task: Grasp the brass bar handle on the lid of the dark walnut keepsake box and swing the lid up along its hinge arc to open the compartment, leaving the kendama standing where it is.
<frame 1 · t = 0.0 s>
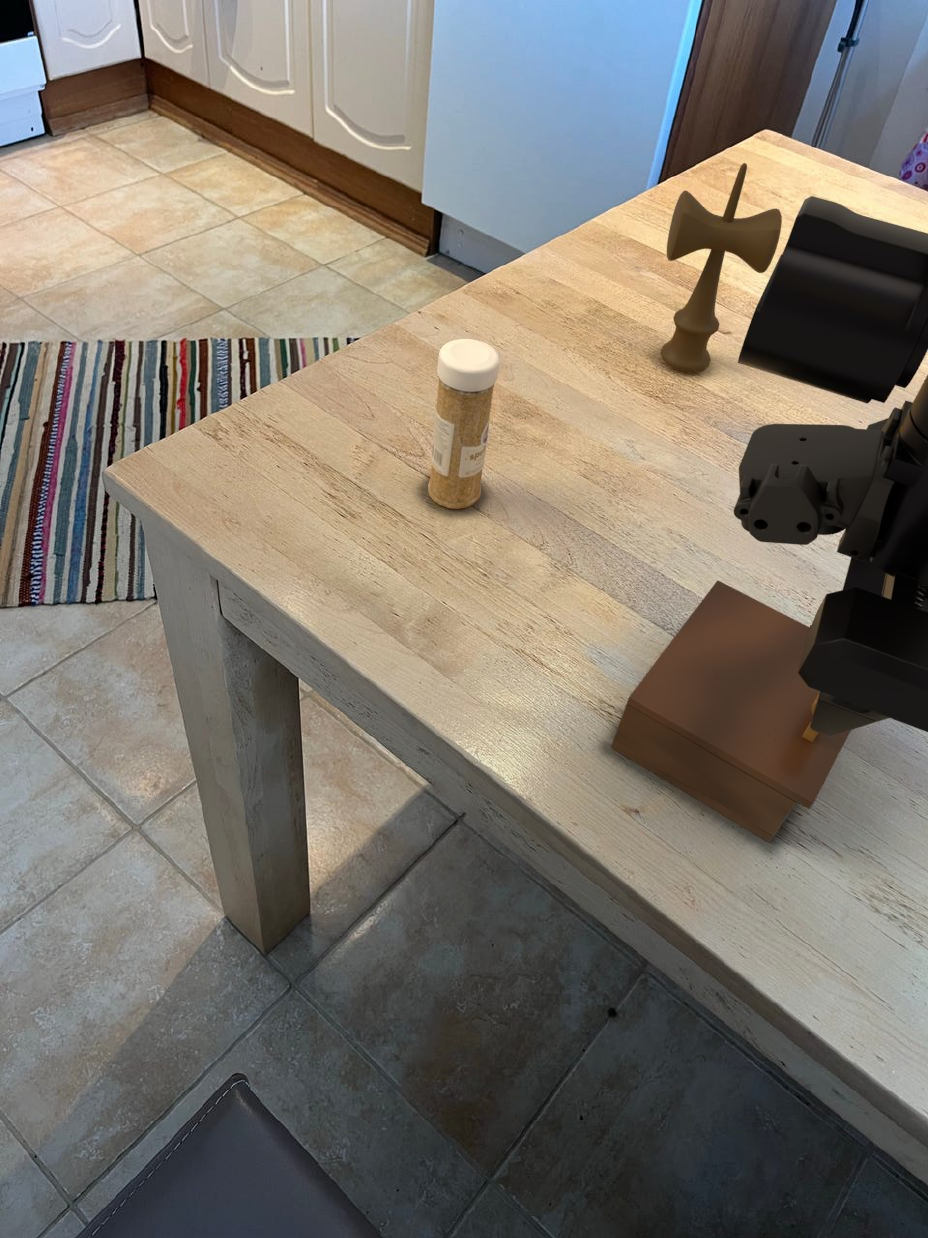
hand: (834, 668, 51), 14 cm above the table, tool pointing down, fingers open, 9 cm apart
lid: (768, 665, 60), point 7 cm above the table, hinge at 0.0°
spice jar: (453, 494, 80), on the table
keepsake box: (729, 727, 66), on the table
kendama: (683, 364, 97), on the table
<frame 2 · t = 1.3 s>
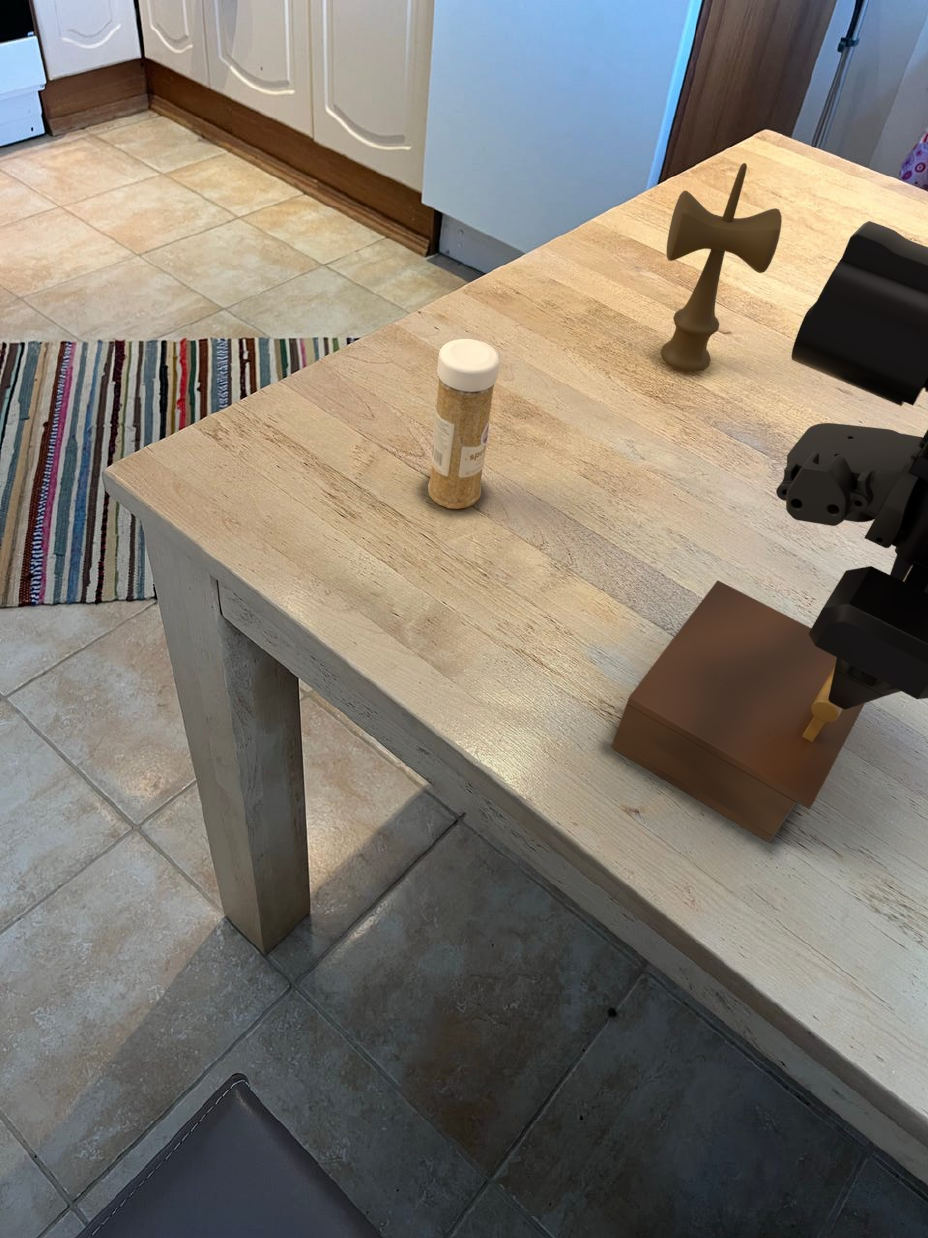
hand: (863, 655, 56), 12 cm above the table, tool pointing down, fingers open, 9 cm apart
nothing on the table moved.
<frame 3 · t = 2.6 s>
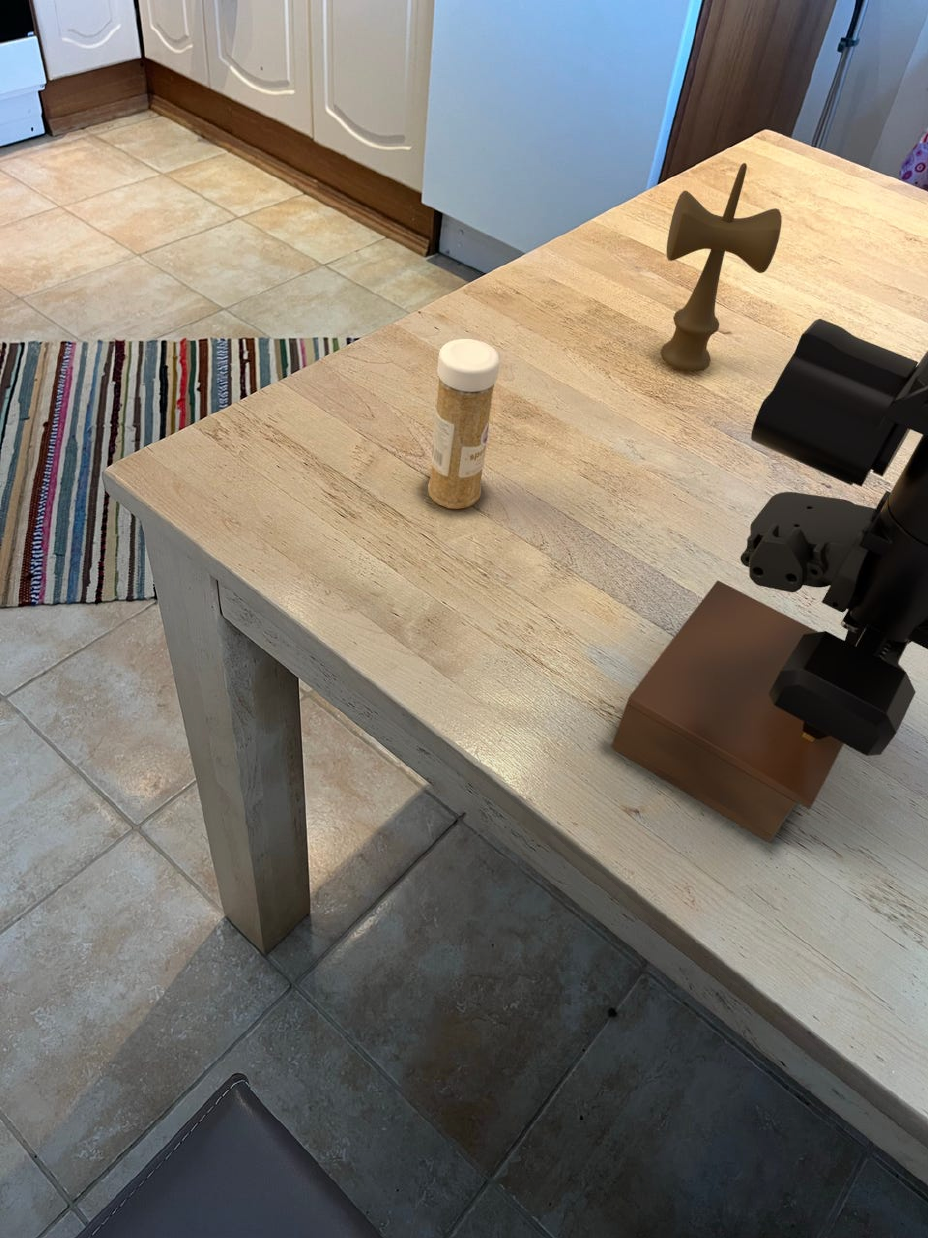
hand: (827, 704, 59), 7 cm above the table, tool pointing down, fingers closed on lid, 5 cm apart
lid: (768, 665, 60), point 7 cm above the table, hinge at 0.0°, touching gripper
everything else where it was.
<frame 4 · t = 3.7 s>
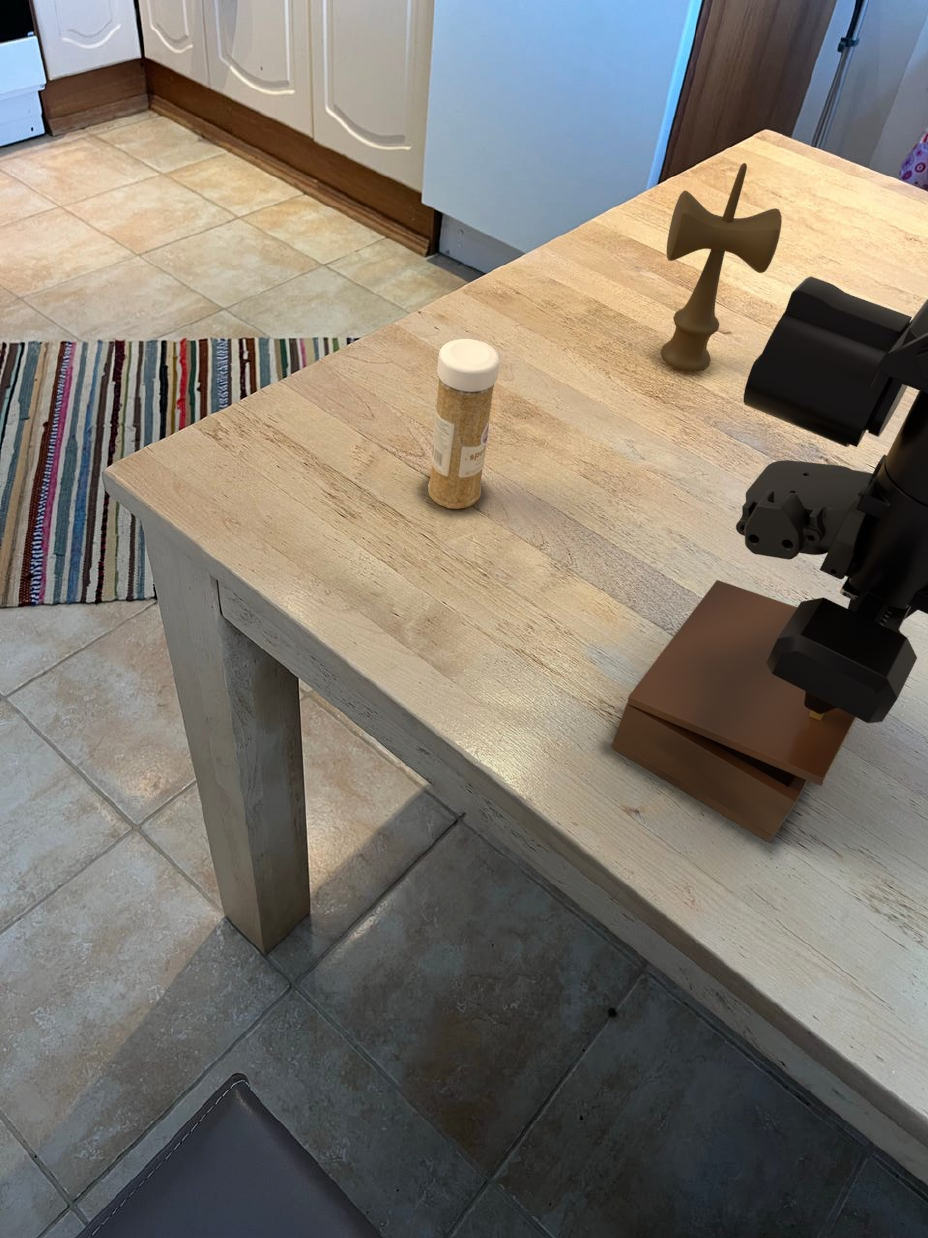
hand: (829, 678, 58), 9 cm above the table, tool pointing down, fingers closed on lid, 5 cm apart
lid: (767, 650, 60), point 8 cm above the table, hinge at 11.0°, touching gripper
everything else where it was.
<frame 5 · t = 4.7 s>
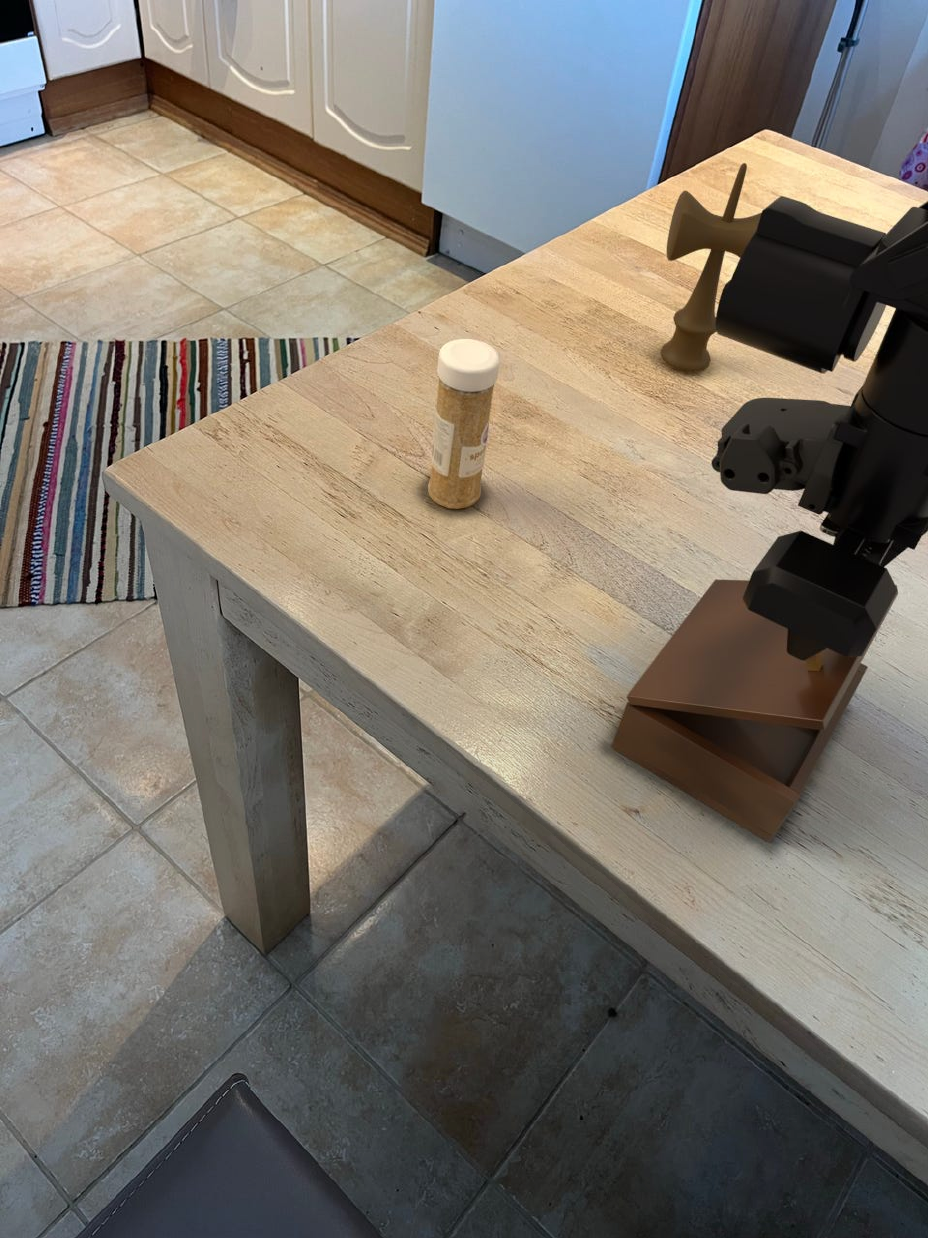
hand: (813, 626, 57), 12 cm above the table, tool pointing down, fingers closed on lid, 5 cm apart
lid: (756, 620, 59), point 10 cm above the table, hinge at 31.5°, touching gripper
everything else where it was.
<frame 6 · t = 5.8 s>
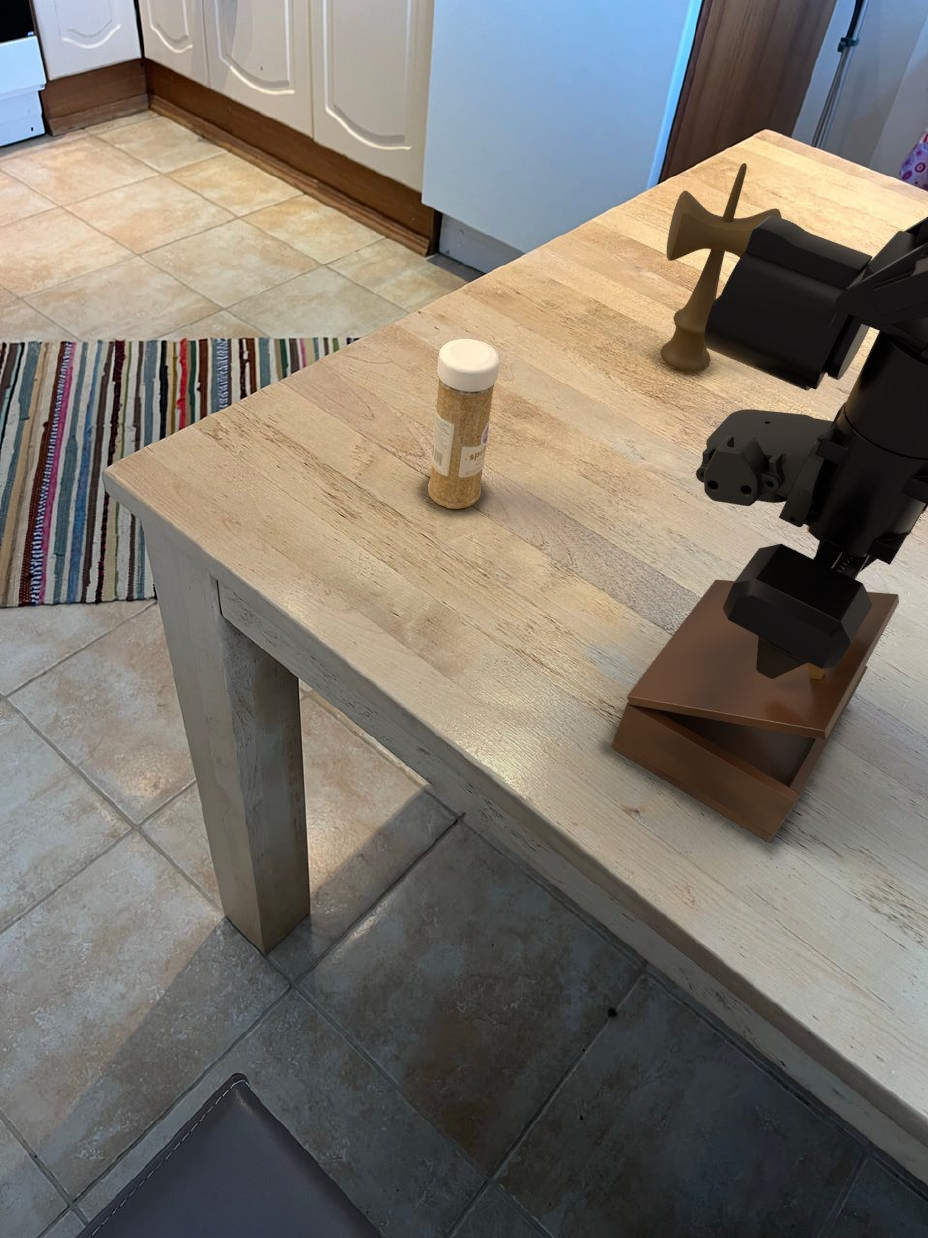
hand: (790, 633, 58), 10 cm above the table, tool pointing down, fingers open, 8 cm apart
lid: (759, 624, 59), point 10 cm above the table, hinge at 28.3°
everything else where it was.
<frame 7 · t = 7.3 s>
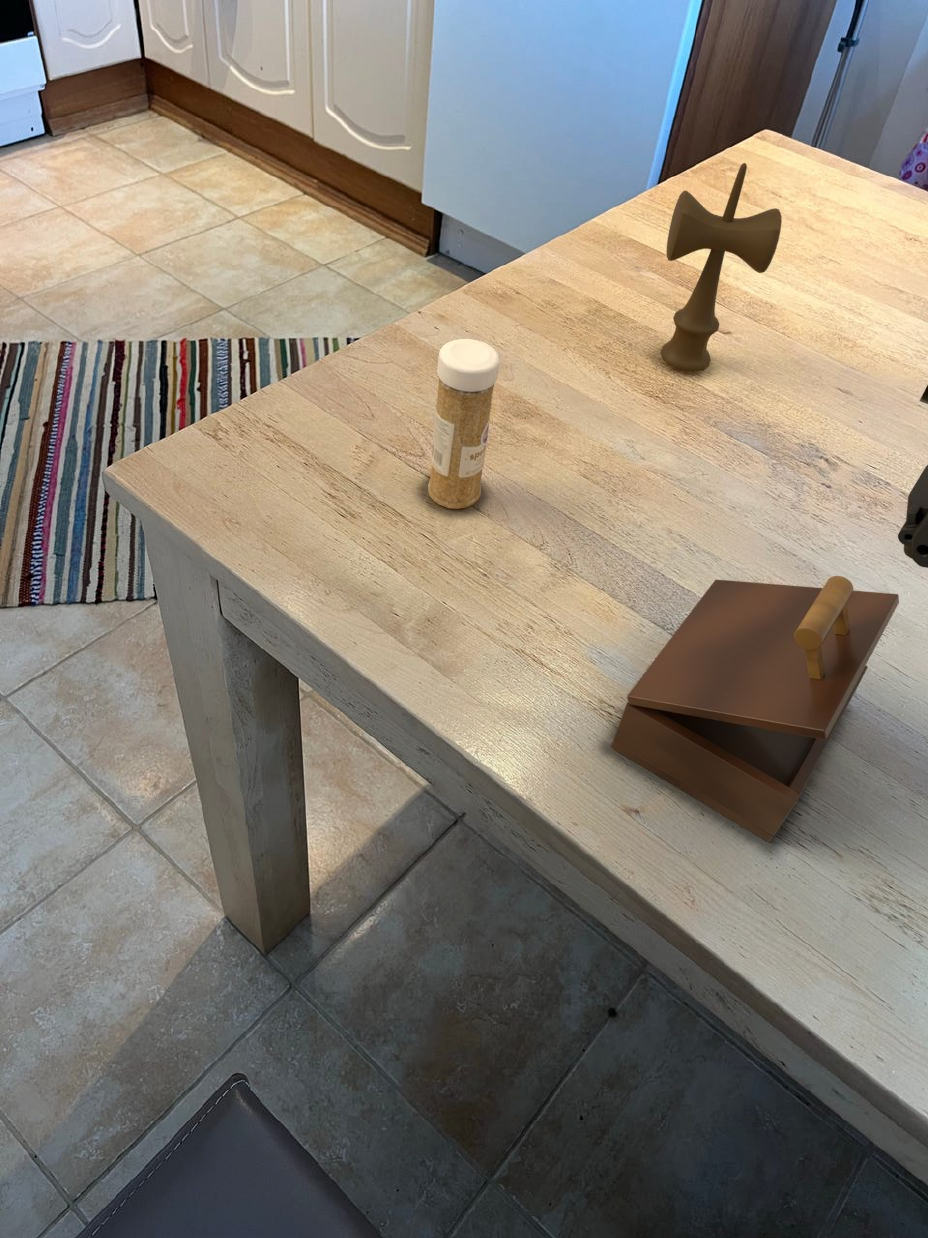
nothing on the table moved.
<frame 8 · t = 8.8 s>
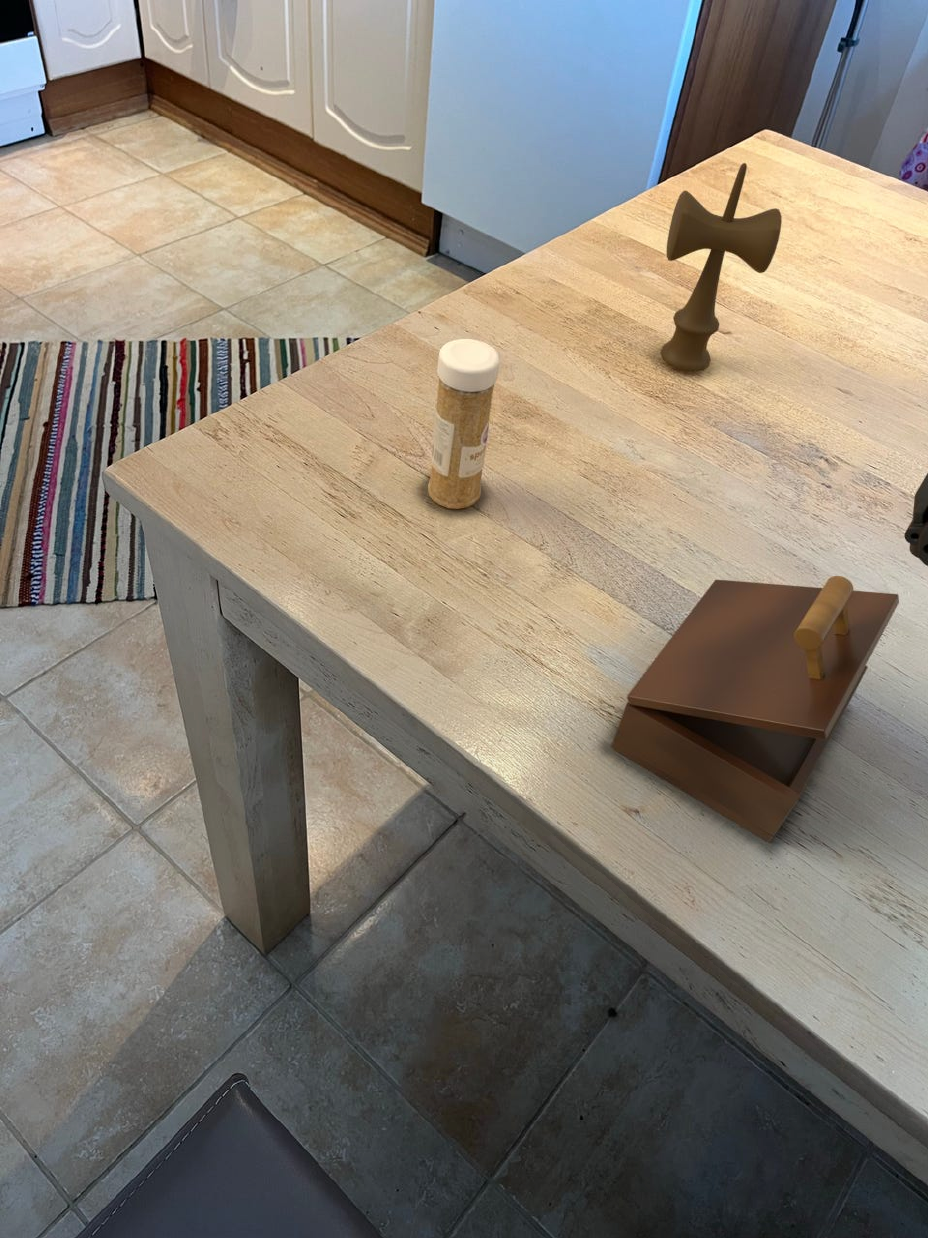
nothing on the table moved.
at the end: lid at +28° (first picture: +0°); kendama moved 0.2 cm from its start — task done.
